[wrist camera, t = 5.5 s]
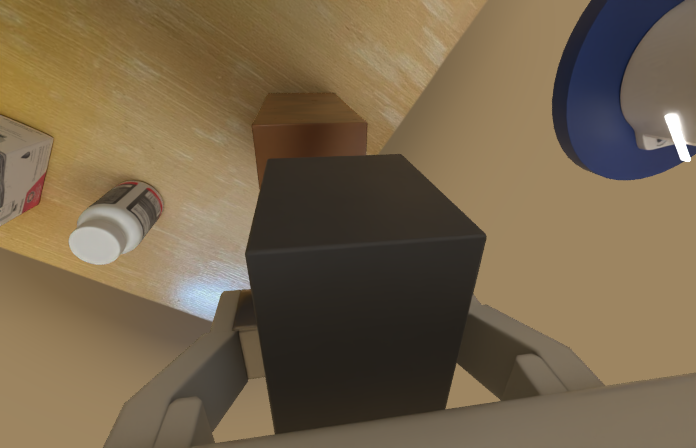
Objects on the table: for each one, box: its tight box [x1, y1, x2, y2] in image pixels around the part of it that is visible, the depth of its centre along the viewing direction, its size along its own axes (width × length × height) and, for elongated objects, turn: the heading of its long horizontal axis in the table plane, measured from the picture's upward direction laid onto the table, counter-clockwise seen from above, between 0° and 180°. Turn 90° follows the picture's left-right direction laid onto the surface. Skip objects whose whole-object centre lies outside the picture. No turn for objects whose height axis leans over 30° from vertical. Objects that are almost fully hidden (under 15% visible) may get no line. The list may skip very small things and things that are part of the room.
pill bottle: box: [69, 181, 164, 265], centre depth 33 cm, size 5×5×10 cm
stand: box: [252, 93, 367, 189], centre depth 29 cm, size 7×7×17 cm
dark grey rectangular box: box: [245, 154, 486, 434], centre depth 9 cm, size 4×8×5 cm, turn 179°
